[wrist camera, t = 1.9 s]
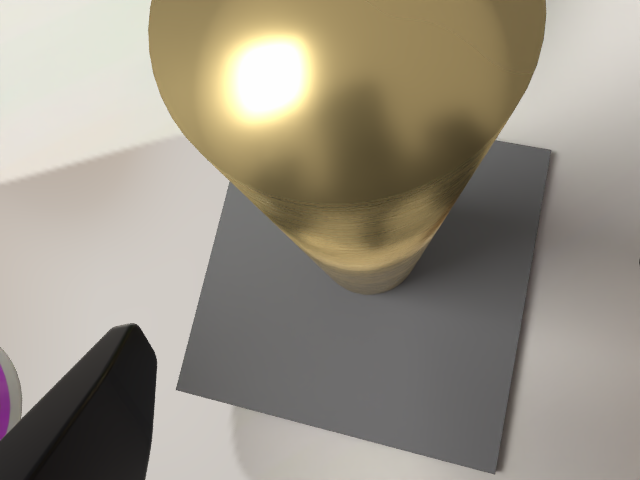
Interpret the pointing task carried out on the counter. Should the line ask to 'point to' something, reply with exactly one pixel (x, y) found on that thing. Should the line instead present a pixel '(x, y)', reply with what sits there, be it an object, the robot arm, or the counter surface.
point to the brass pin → (347, 112)
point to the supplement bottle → (9, 395)
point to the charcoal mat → (377, 323)
